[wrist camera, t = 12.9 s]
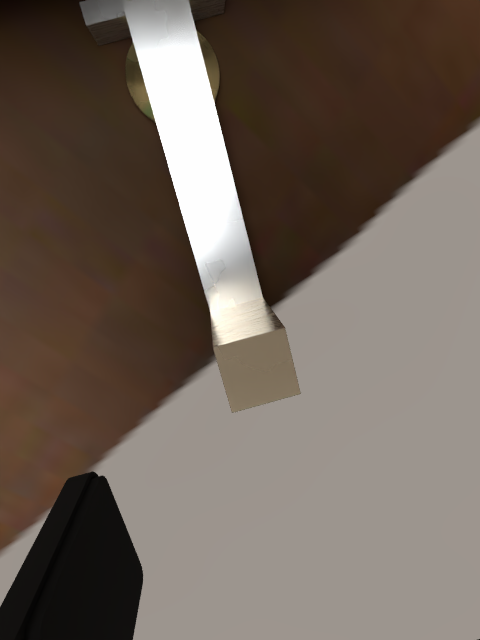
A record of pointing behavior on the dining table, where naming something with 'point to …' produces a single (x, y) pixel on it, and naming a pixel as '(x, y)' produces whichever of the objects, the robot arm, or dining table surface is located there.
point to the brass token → (138, 84)
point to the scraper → (204, 190)
